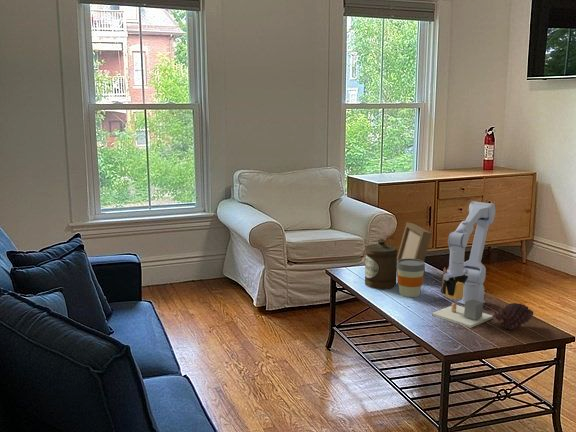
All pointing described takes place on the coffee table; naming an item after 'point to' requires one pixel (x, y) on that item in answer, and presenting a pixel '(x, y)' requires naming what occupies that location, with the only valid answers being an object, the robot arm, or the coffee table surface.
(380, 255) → the wooden container
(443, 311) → the board
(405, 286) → the reusable coffee cup
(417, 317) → the coffee table surface
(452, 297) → the amber foam cube
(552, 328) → the coffee table surface
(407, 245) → the photo frame
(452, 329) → the coffee table surface
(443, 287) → the ammunition clip
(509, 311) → the pine cone
